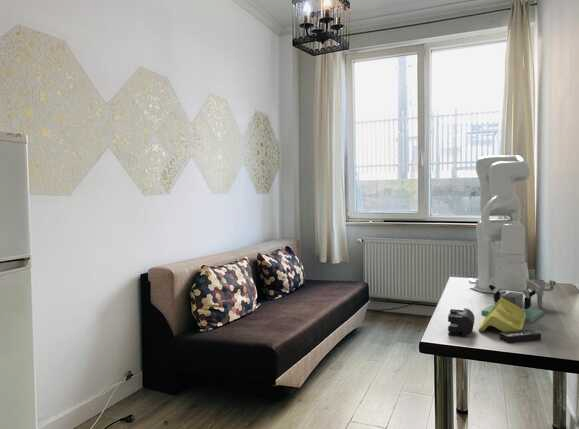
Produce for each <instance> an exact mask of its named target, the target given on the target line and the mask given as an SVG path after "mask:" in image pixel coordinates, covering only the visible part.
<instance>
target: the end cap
mask: <svg viewBox="0 0 579 429" xmlns="http://www.w3.org/2000/svg"><path fill="white" fill-rule="evenodd" d="M447 322H448V323H449V325H447V332H448V333H447V335H448V336H449V337H457V338H465V337H467V336H468V335H470V334H472V333H473V330H474V325H475V314H474V312H472V311H471V310H470V309H469V308H466V307H464V308H463V309H453V308H451V309H450V310H449V313H448V315H447Z"/></svg>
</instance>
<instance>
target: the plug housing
mask: <svg viewBox="0 0 579 429" xmlns="http://www.w3.org/2000/svg"><path fill="white" fill-rule="evenodd" d="M502 298H503V299H505V300H507V301H509V302H511V303H513V304H515V305H516V306H518V307H519V308H521V309H523V306H524V305H523V303H524V302H523V301H524V293H523V292H515V291H508V292H507V293H505V294H503V295H502Z"/></svg>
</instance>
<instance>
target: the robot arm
mask: <svg viewBox="0 0 579 429" xmlns="http://www.w3.org/2000/svg"><path fill="white" fill-rule="evenodd" d="M475 171H476V174H477V178H478V179H479V184H480V197H479V198H480V199H479V200H480V202H479V206H480V207H479V208H480V213H481V214H480V220H479V221H477V223H476V225H475V231H476V232H475V234H476V238H477V278H476V279H474V278H469V279H468V283H469V285H470V284H473V285H474V286H473V289H474V290H475V291H477V292H482V293H485V294H486V293H489V294H493V302H495V303H494V304H496V303H497V302H498V300H499V299H501V293H505V292H506V291H508V292H516V293H523V296H525V297H524V305H523V306H524V308H525V309H528V308H531V306H532V297H533V296H535V295H537V294H536V293H537V291H538V290H539V288H540V286H539V285H537V284H536V283H534V282H532V281H531V280H529V279H530V277H529V269H528V263H527V262H525V259H526V258H525V254H526V252H525V251H526V250H525V245H526V244H525V243H526V241H525V240H526V238H525V237H526V236H525V234H526V228H525V225H524V224H523V223H521V220H522V219H521V215H522V203H521V199H520V198H519V196H518V195H516V189H515V188H516V187H515V184H519V183H520V184H521V183H522V184H523V183H526V182H528V181H529V179H530V174H531V173H530V167H529V164H528V162H527V161H526V159H524V158H523V156H521V155H517V154H515V155H510V154H509V155H486V156H481V157H479V158H477V160H476V162H475ZM490 217H507V219H505V218H500V219H499V218H494V219H493V218H490ZM496 242H500V246H499V245H498V244H497V243H496ZM529 285H531V286H532V287H533V288H534V289H533V291H532V290H530V289H529Z"/></svg>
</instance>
